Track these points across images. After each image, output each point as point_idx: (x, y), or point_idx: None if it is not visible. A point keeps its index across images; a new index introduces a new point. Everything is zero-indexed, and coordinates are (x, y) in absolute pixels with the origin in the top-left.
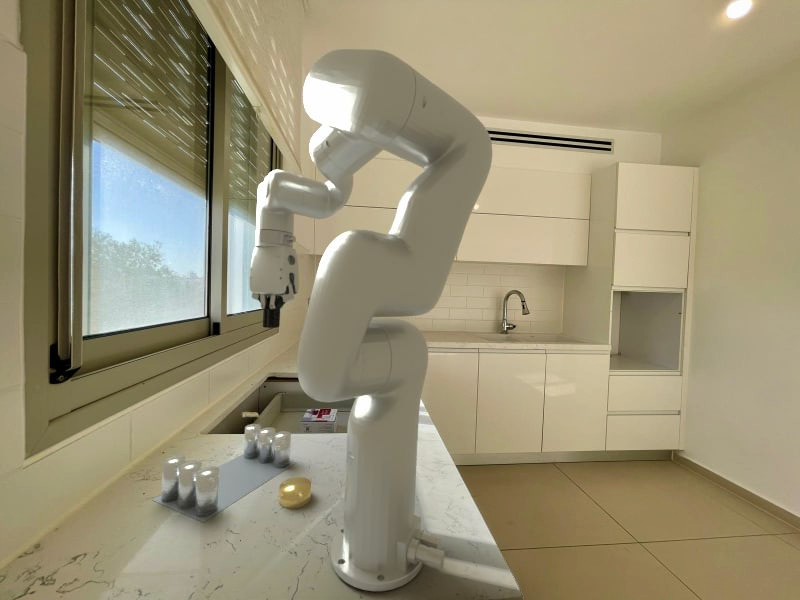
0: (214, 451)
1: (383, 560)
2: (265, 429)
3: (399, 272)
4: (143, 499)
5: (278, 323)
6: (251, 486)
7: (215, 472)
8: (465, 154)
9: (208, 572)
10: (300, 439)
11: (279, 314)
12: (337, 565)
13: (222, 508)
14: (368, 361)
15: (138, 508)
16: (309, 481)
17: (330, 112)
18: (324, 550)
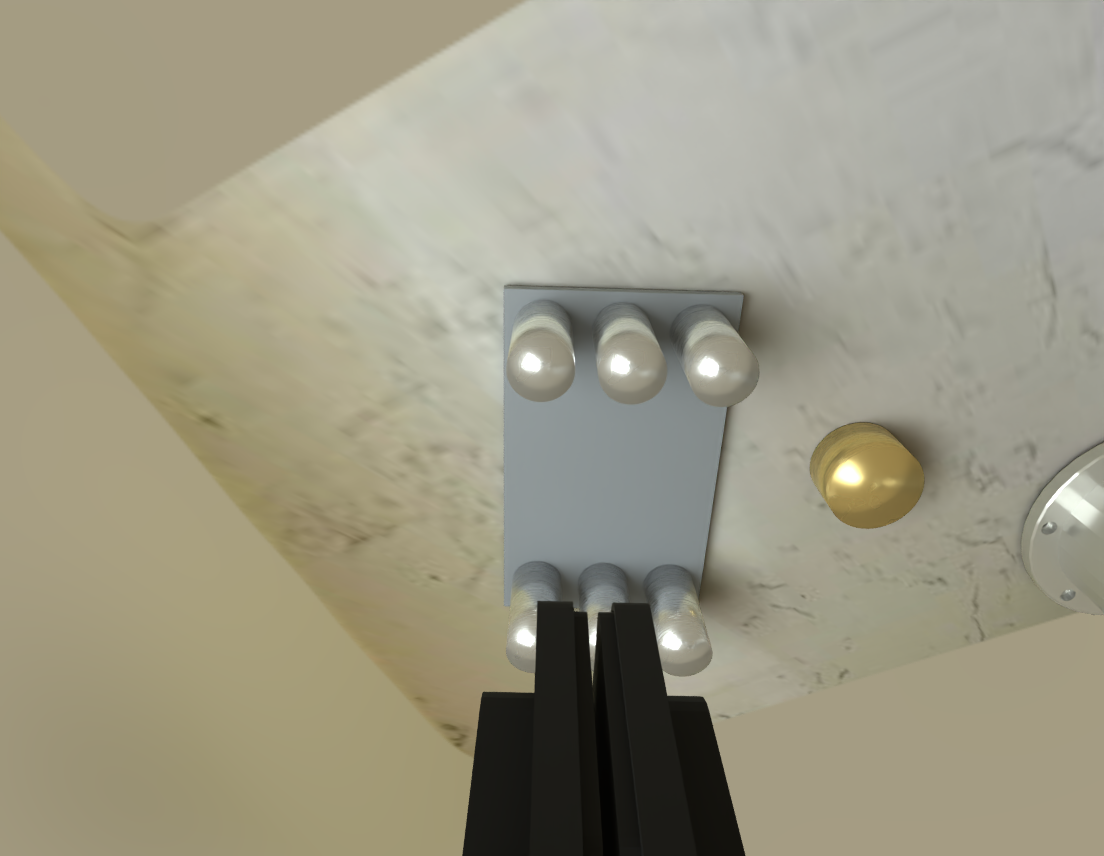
0: (358, 337)
1: None
2: (618, 370)
3: None
4: (462, 592)
5: (697, 696)
6: (696, 473)
7: (707, 651)
8: None
9: (802, 663)
10: (601, 56)
11: (735, 822)
12: (1061, 603)
13: (698, 566)
14: None
15: (491, 614)
16: (909, 458)
17: None
18: (1001, 555)
